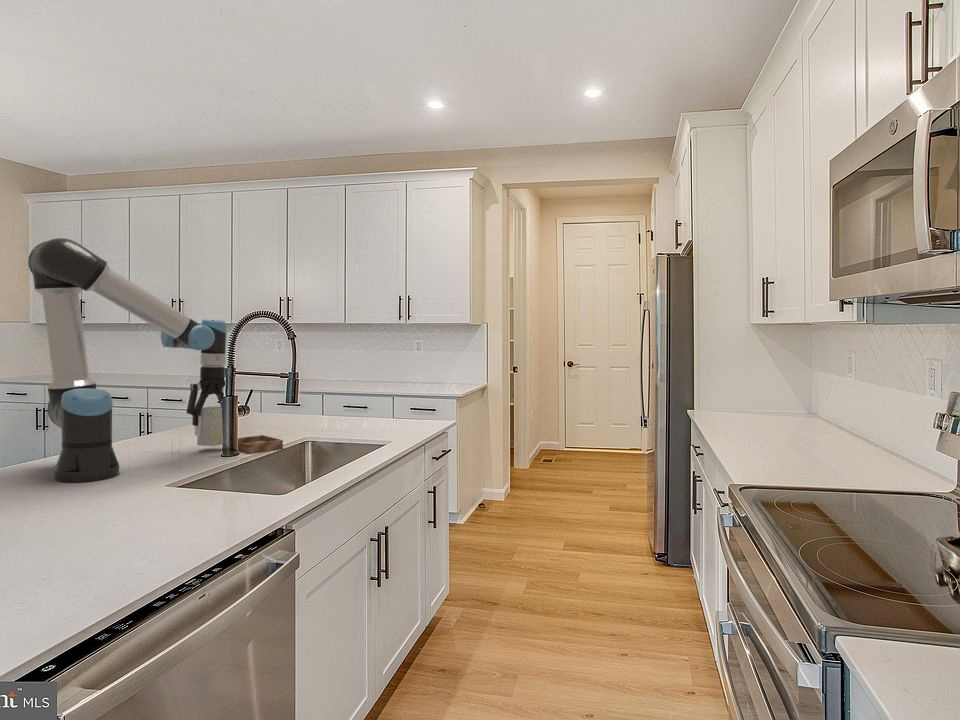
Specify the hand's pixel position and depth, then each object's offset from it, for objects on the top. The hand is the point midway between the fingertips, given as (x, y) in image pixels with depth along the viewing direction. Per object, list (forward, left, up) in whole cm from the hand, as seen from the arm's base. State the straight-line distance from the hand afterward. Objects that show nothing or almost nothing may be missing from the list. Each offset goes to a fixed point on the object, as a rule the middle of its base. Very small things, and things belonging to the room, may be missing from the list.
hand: (210, 434), depth 206 cm
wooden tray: (+13, -6, -6) cm, 15 cm away
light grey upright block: (0, 0, -3) cm, 3 cm away
